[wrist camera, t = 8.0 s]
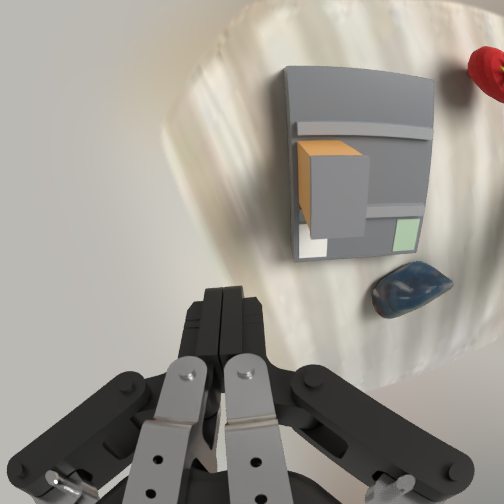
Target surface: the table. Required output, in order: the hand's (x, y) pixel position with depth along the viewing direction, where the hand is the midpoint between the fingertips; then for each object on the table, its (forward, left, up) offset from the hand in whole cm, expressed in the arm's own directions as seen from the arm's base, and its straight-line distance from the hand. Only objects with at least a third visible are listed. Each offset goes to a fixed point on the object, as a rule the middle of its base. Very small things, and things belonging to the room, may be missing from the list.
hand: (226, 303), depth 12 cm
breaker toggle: (-7, 0, -17) cm, 19 cm away
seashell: (-21, +16, -21) cm, 34 cm away
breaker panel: (-12, 0, -20) cm, 24 cm away
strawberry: (-28, -13, -21) cm, 37 cm away
